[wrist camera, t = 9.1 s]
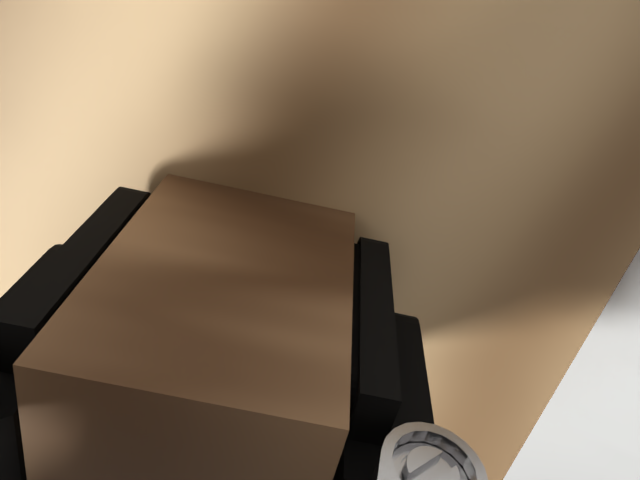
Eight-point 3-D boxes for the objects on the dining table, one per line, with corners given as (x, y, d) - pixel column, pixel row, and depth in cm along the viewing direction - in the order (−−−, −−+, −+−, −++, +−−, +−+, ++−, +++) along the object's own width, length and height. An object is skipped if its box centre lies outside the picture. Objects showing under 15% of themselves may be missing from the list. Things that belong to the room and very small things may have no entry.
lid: (760, -39, 8) (1414, 6, 3) (464, 500, 15) (516, 790, 10) (-147, -255, 8) (-1165, -632, 3) (-27, 406, 15) (-237, 663, 10)
